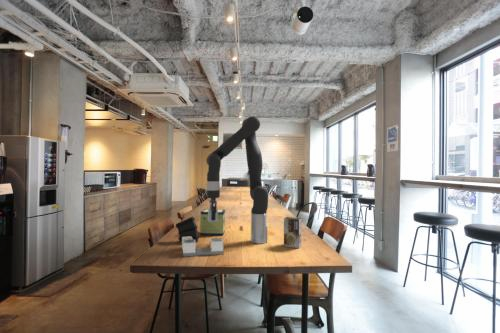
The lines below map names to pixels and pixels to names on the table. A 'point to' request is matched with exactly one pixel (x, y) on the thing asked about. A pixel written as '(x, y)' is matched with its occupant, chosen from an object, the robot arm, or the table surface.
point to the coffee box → (292, 232)
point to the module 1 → (186, 239)
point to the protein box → (212, 224)
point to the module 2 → (210, 215)
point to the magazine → (187, 229)
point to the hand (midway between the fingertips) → (212, 219)
